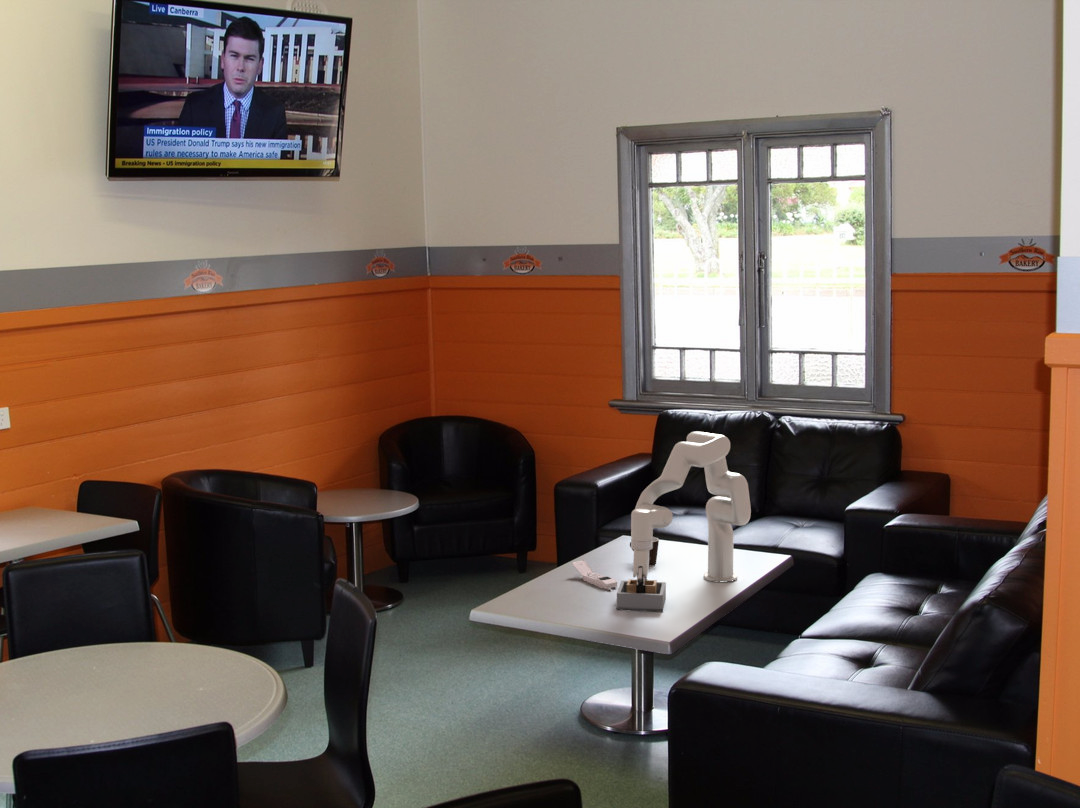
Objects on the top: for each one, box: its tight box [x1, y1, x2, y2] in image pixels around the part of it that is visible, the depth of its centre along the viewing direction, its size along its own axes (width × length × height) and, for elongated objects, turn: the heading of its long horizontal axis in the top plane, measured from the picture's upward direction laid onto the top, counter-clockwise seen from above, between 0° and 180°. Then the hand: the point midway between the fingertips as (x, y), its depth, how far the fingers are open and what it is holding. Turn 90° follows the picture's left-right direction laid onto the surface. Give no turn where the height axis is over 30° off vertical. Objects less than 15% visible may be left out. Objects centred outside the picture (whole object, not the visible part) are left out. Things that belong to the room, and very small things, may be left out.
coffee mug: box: [629, 536, 660, 566], centre depth 460 cm, size 12×9×10 cm
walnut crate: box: [627, 578, 658, 594], centre depth 406 cm, size 7×10×5 cm
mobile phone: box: [571, 560, 618, 592], centre depth 433 cm, size 6×6×25 cm
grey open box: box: [616, 580, 667, 613], centre depth 406 cm, size 16×16×6 cm
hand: (641, 592), depth 406 cm, fingers closed on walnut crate, 6 cm apart
